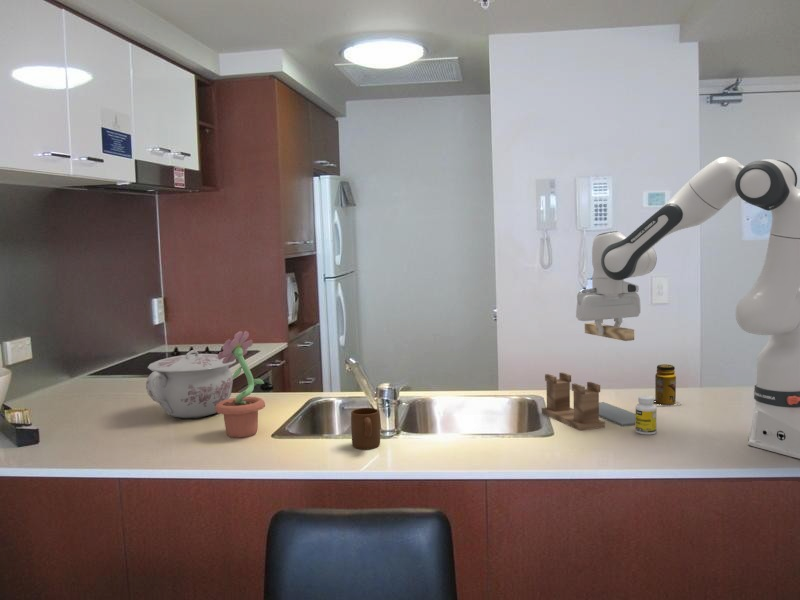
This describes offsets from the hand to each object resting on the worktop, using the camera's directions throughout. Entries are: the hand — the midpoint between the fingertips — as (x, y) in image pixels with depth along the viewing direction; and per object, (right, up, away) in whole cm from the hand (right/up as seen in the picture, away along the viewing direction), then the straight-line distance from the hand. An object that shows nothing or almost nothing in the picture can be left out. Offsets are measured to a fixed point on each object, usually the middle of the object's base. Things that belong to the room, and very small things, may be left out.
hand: (608, 334), depth 211 cm
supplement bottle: (+6, -26, -16) cm, 31 cm away
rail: (0, +1, 0) cm, 1 cm away
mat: (+2, -24, +3) cm, 24 cm away
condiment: (+21, -23, +15) cm, 35 cm away
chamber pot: (-128, -27, +20) cm, 132 cm away
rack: (-11, -25, -1) cm, 27 cm away
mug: (-70, -29, -22) cm, 79 cm away
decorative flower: (-107, -29, -5) cm, 111 cm away
